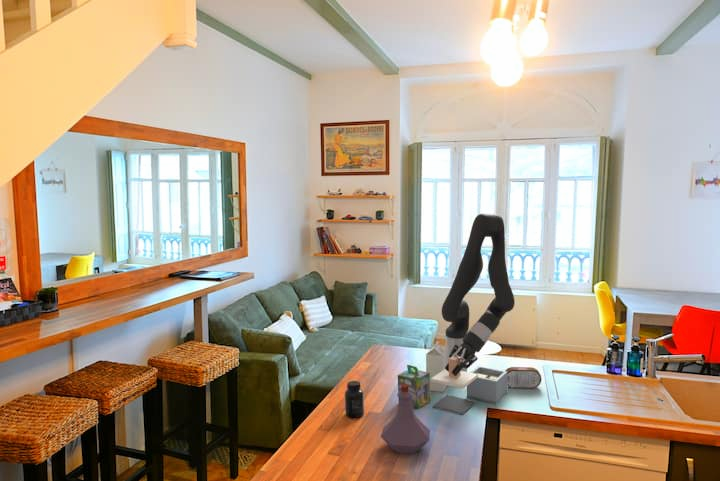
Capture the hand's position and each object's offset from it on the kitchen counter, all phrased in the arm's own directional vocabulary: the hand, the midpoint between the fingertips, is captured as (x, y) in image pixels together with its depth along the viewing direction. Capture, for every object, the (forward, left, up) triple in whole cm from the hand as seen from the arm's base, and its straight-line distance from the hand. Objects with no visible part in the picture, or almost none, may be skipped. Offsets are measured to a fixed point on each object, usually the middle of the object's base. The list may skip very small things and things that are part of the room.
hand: (450, 372), depth 181 cm
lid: (+1, +2, -3) cm, 4 cm away
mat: (+1, +2, -13) cm, 13 cm away
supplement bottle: (-26, -25, -13) cm, 39 cm away
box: (+8, +17, -13) cm, 23 cm away
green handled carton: (-13, -4, -13) cm, 19 cm away
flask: (+1, -34, -13) cm, 37 cm away
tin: (+17, +32, -13) cm, 38 cm away
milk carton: (-12, +13, -13) cm, 22 cm away
